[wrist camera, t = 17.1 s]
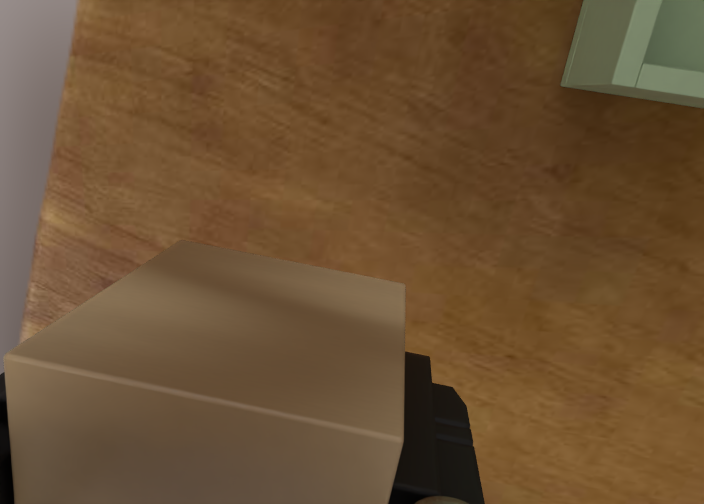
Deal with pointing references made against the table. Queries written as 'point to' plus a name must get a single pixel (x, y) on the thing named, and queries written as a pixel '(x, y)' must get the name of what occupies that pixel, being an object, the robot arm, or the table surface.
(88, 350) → the block
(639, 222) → the table surface
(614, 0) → the green box
